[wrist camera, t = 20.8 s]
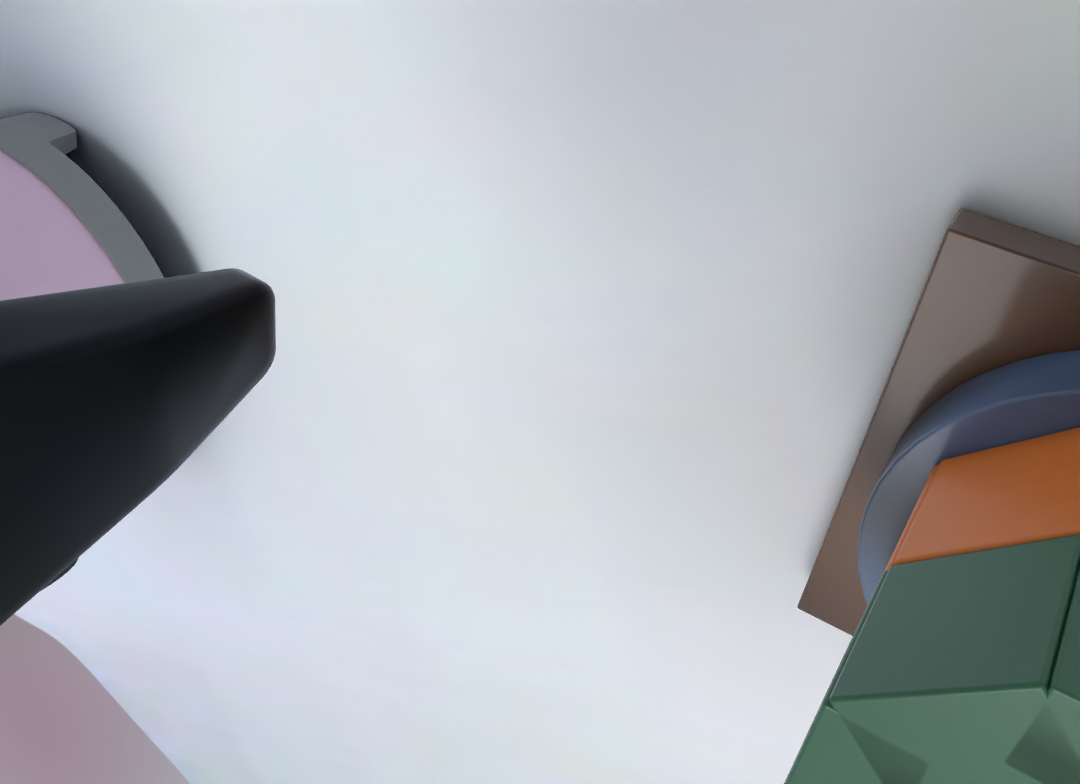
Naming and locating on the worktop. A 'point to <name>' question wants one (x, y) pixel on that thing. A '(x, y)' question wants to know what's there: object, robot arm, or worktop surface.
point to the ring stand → (956, 392)
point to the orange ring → (996, 499)
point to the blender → (59, 219)
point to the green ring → (958, 675)
